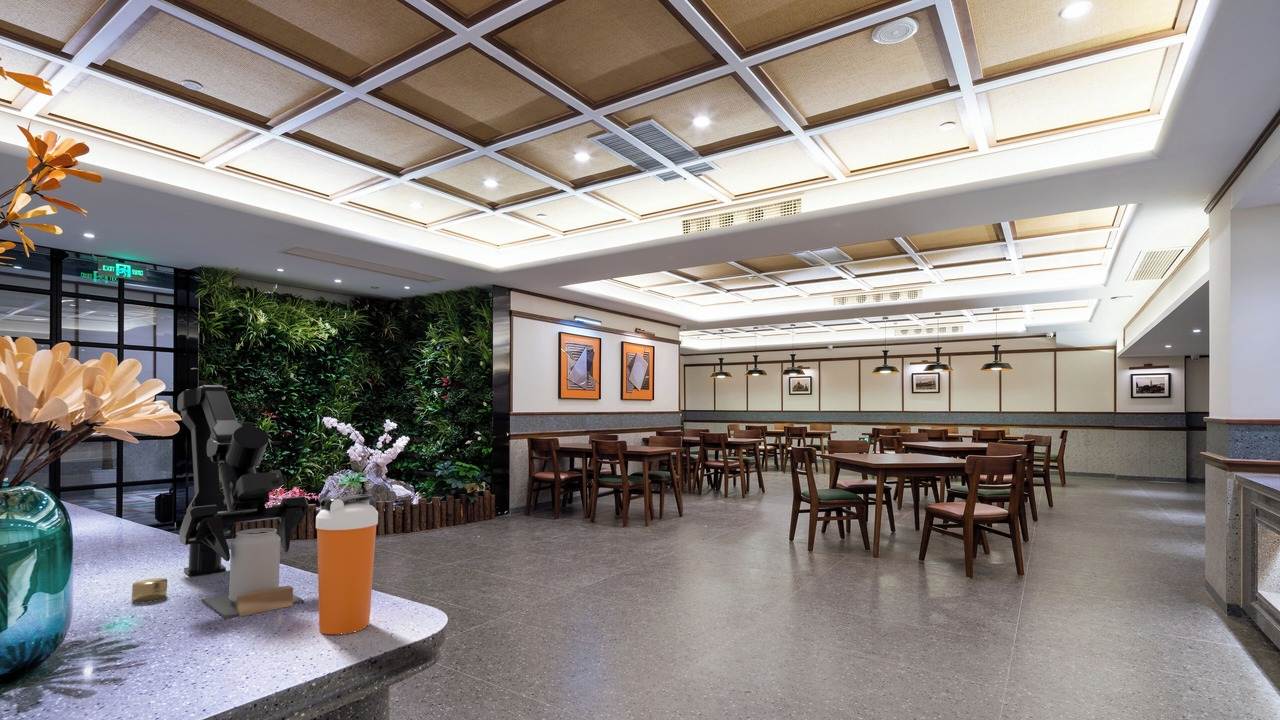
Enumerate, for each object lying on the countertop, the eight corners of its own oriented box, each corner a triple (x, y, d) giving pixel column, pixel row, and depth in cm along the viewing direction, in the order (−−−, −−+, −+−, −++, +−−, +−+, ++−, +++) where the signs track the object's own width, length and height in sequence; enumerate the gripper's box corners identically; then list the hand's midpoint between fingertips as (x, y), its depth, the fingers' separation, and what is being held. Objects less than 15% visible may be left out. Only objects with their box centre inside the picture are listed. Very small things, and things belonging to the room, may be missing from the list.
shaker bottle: (387, 624, 102) (390, 495, 104) (333, 642, 95) (337, 502, 96) (354, 614, 107) (357, 491, 109) (300, 630, 100) (304, 497, 101)
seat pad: (201, 600, 115) (201, 598, 115) (276, 587, 124) (276, 584, 124) (224, 618, 105) (224, 616, 105) (303, 602, 114) (303, 599, 114)
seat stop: (236, 613, 108) (236, 595, 108) (288, 603, 114) (288, 585, 114) (239, 616, 106) (240, 597, 107) (292, 605, 112) (293, 587, 112)
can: (283, 592, 119) (285, 525, 119) (272, 604, 111) (275, 533, 112) (236, 595, 117) (239, 527, 117) (222, 608, 109) (225, 535, 110)
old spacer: (130, 598, 117) (131, 581, 117) (164, 593, 120) (165, 576, 120) (132, 605, 113) (133, 587, 113) (168, 599, 116) (169, 582, 117)
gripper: (191, 459, 111) (206, 533, 103) (306, 453, 125) (328, 518, 117) (177, 501, 116) (191, 576, 108) (290, 491, 130) (310, 556, 122)
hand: (258, 555), depth 113 cm, fingers open, 9 cm apart
